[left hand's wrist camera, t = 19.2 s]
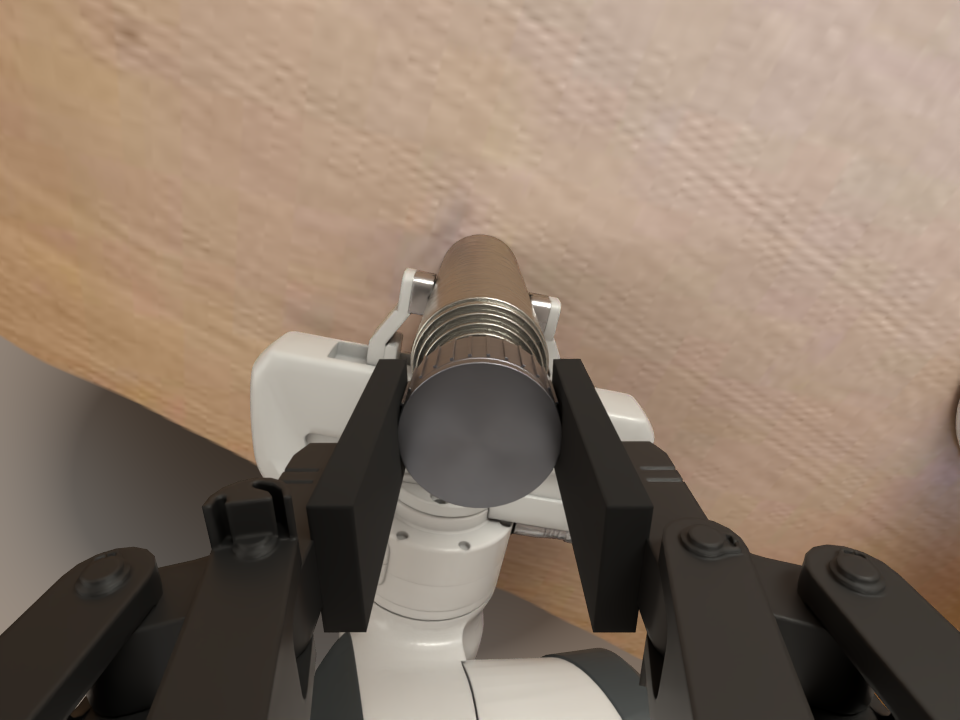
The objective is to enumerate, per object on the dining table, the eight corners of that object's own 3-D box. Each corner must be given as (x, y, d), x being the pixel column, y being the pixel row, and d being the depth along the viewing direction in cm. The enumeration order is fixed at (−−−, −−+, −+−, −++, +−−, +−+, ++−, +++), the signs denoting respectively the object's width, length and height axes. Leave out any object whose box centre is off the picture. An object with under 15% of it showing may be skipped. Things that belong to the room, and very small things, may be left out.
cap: (381, 361, 14) (366, 391, 12) (529, 312, 14) (537, 336, 12) (436, 485, 16) (430, 528, 14) (572, 445, 15) (584, 484, 13)
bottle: (527, 244, 31) (594, 365, 13) (508, 318, 32) (543, 518, 14) (449, 226, 30) (405, 325, 12) (434, 302, 32) (376, 487, 14)
